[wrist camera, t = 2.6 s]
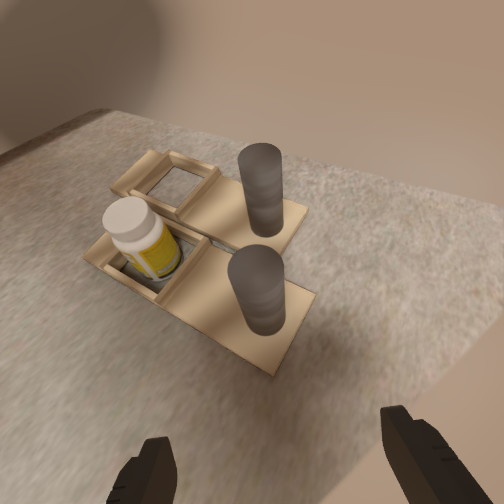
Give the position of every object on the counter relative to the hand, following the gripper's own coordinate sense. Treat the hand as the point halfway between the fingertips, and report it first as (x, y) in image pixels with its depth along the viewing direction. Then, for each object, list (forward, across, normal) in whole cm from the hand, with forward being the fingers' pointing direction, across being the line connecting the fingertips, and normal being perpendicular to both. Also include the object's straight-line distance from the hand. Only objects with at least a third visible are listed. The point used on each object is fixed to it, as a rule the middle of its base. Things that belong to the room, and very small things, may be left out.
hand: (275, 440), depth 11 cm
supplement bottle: (+22, +10, -3) cm, 24 cm away
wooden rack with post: (+20, +7, -1) cm, 21 cm away
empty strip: (+27, +6, -8) cm, 29 cm away
